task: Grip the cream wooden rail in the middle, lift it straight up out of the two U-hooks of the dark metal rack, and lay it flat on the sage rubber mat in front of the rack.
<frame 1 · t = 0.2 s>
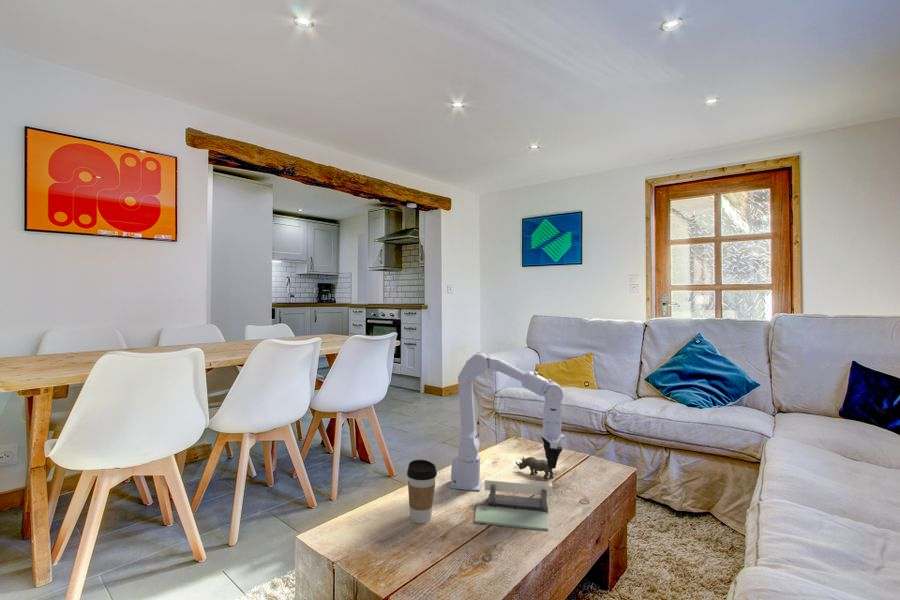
hand: (550, 463, 137), 10 cm above the table, tool pointing down, fingers open, 7 cm apart
rack: (517, 504, 130), on the table
mat: (510, 518, 122), on the table
rail: (517, 490, 130), point 4 cm above the table, touching rack
rhino figurine: (533, 475, 153), on the table
coffee cup: (420, 518, 120), on the table
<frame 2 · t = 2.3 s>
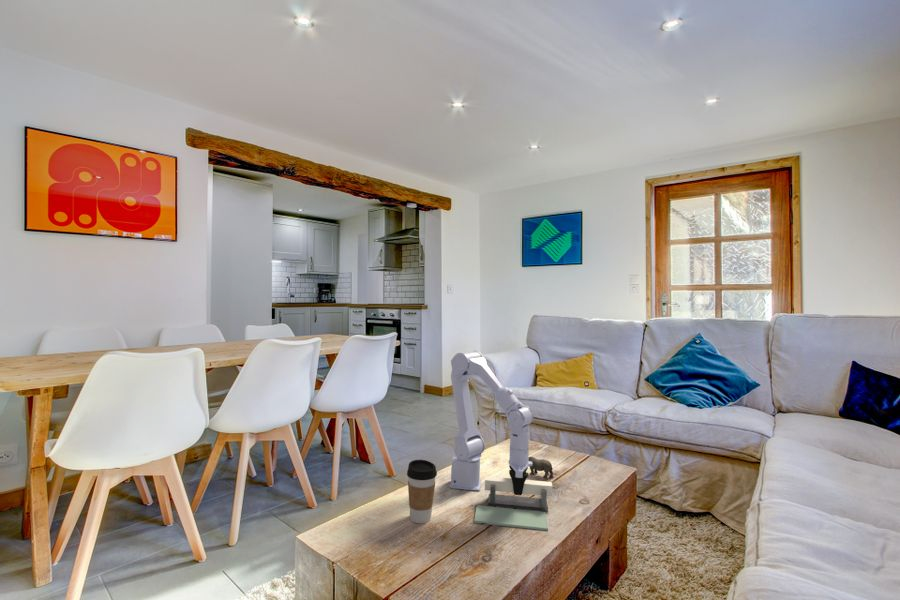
hand: (517, 491, 130), 4 cm above the table, tool pointing down, fingers closed on rail, 3 cm apart
rail: (517, 490, 130), point 4 cm above the table, touching gripper, rack
everything else where it was.
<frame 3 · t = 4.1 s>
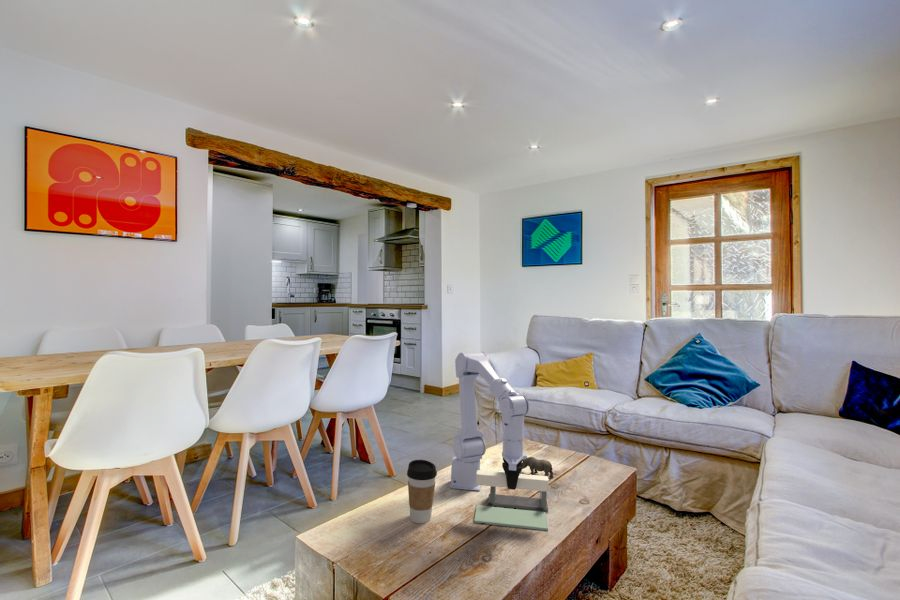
hand: (511, 486, 122), 9 cm above the table, tool pointing down, fingers closed on rail, 3 cm apart
rail: (511, 485, 122), point 9 cm above the table, touching gripper
everything else where it was.
when the fingers open (2 cm above the table, at t = 6.1 s): rail drops 1 cm, resting on mat.
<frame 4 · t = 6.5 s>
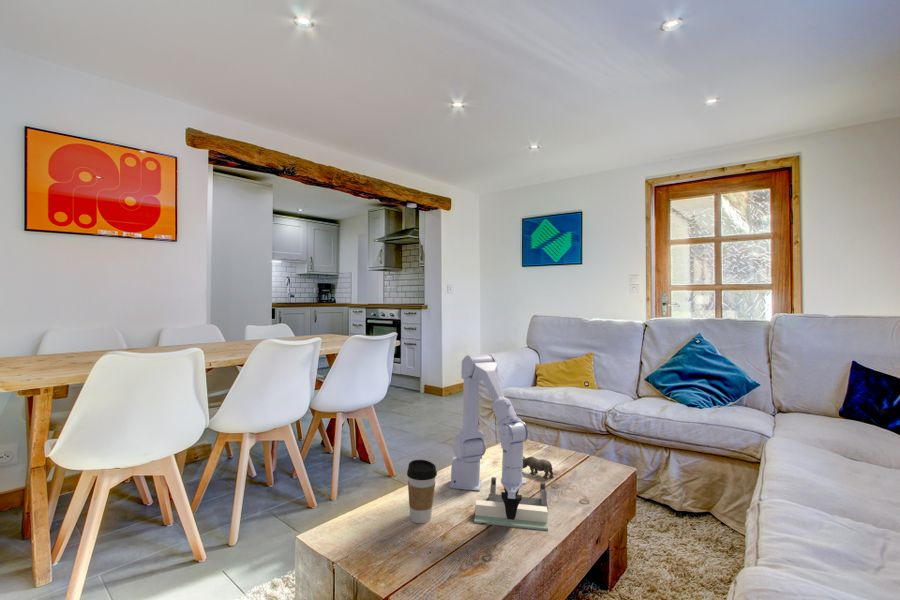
hand: (510, 512, 122), 2 cm above the table, tool pointing down, fingers open, 6 cm apart
rail: (510, 516, 122), point 1 cm above the table, touching mat
everything else where it was.
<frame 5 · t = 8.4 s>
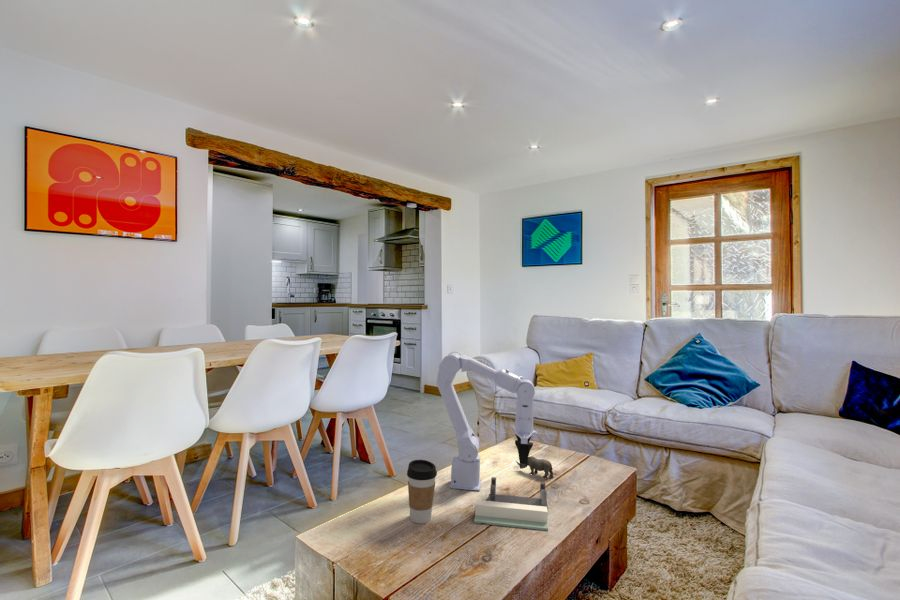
hand: (523, 458, 140), 10 cm above the table, tool pointing down, fingers open, 7 cm apart
nothing on the table moved.
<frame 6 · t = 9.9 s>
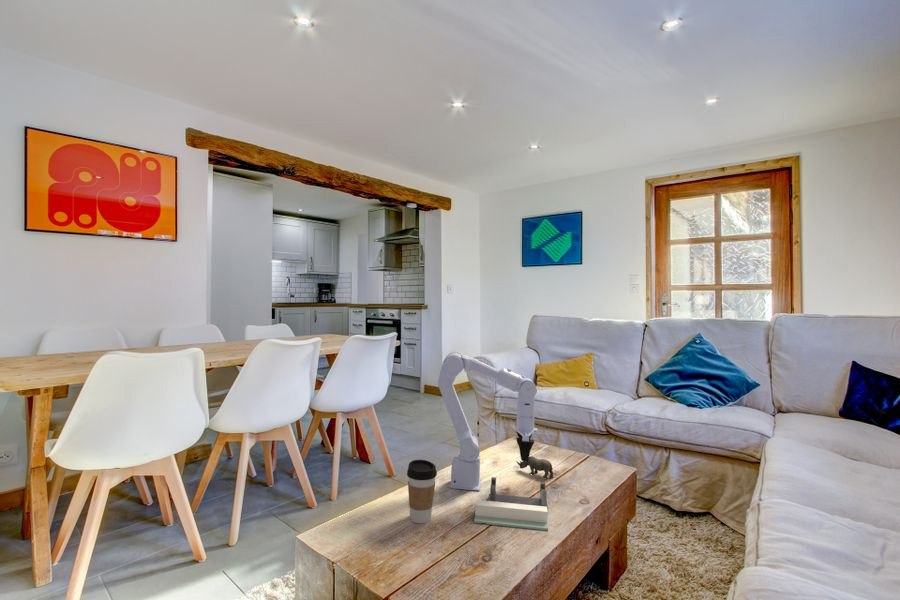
hand: (524, 456, 142), 10 cm above the table, tool pointing down, fingers open, 7 cm apart
nothing on the table moved.
at the end: rail inside the target area (0.0 cm from its centre), point 0.6 cm above the table; rail tilted 0°; the gripper is holding nothing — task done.
